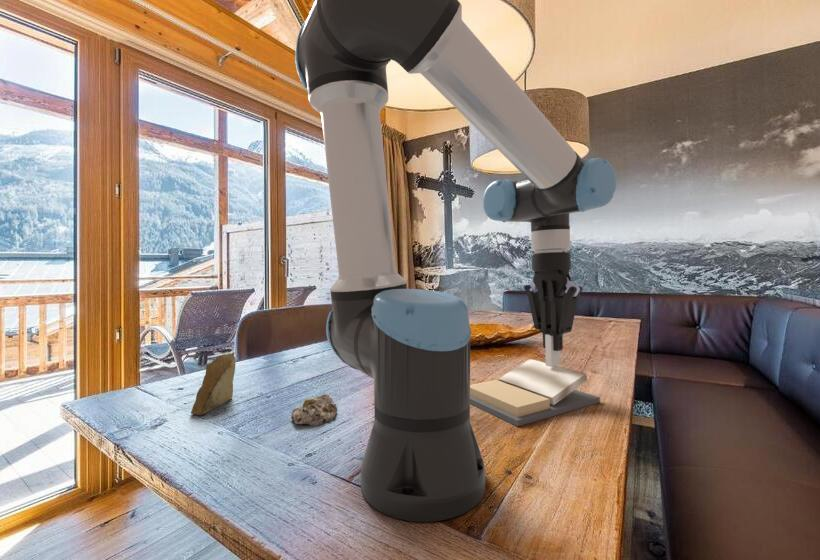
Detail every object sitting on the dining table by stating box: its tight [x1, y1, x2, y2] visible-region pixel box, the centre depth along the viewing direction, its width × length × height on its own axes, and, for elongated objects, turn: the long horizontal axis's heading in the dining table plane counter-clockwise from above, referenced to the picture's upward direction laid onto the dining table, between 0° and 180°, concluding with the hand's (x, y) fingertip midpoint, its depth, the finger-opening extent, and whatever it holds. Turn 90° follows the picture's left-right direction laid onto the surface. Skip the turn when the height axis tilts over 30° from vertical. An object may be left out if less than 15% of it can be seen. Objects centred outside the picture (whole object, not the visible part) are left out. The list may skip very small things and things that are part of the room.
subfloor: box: [470, 379, 601, 427], centre depth 74 cm, size 22×16×3 cm
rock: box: [190, 353, 237, 416], centre depth 73 cm, size 11×9×10 cm
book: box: [497, 358, 588, 405], centre depth 76 cm, size 10×14×2 cm
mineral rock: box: [290, 394, 338, 427], centre depth 68 cm, size 11×4×8 cm
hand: (553, 365), depth 78 cm, fingers closed
